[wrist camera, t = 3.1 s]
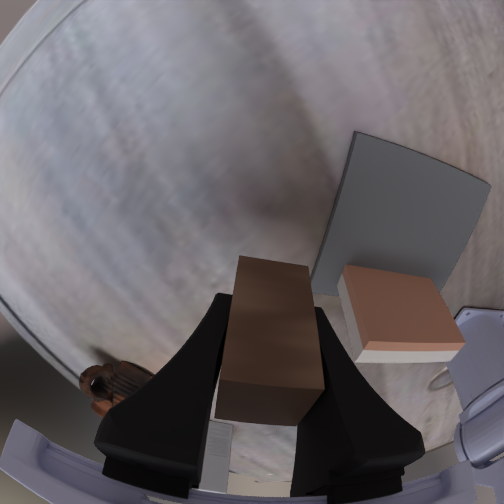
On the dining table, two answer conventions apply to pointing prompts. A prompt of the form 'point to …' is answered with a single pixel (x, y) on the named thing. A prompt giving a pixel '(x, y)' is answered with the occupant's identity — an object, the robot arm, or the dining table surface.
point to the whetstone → (396, 317)
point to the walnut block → (270, 346)
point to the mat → (398, 215)
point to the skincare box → (216, 458)
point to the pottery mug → (111, 384)
